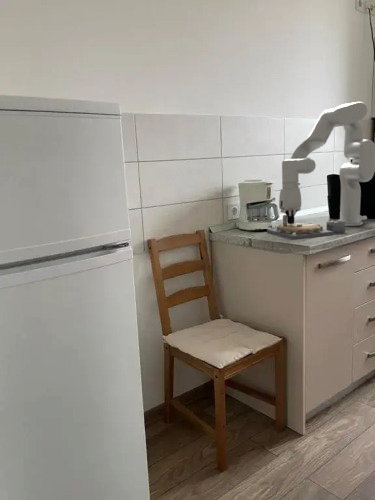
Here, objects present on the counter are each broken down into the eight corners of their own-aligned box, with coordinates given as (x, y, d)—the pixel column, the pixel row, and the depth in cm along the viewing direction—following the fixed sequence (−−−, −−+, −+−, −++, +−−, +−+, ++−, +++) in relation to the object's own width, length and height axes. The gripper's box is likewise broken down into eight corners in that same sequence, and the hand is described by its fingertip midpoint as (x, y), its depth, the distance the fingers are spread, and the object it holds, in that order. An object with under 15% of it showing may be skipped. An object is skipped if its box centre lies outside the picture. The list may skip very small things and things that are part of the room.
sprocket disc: (272, 227, 214) (272, 214, 212) (314, 225, 214) (314, 212, 213) (283, 234, 193) (283, 219, 192) (328, 232, 194) (329, 217, 192)
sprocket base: (305, 228, 218) (305, 223, 217) (333, 234, 198) (333, 229, 197) (267, 232, 211) (267, 227, 210) (292, 239, 190) (292, 234, 190)
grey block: (326, 232, 205) (326, 220, 204) (338, 230, 207) (338, 219, 206) (332, 233, 201) (332, 221, 199) (344, 232, 203) (345, 220, 202)
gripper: (298, 184, 210) (299, 221, 215) (272, 186, 205) (273, 224, 209) (308, 184, 204) (308, 222, 208) (281, 187, 199) (282, 226, 203)
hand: (290, 223), depth 209 cm, fingers closed
